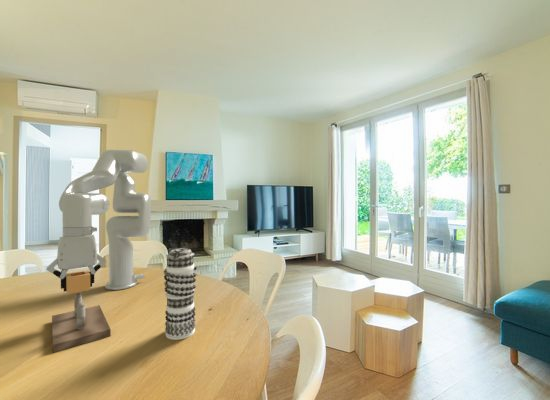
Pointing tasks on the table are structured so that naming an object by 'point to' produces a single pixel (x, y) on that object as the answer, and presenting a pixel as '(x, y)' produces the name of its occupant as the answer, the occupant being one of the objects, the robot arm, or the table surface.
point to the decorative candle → (180, 294)
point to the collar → (77, 281)
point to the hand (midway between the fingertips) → (78, 287)
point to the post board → (78, 326)
